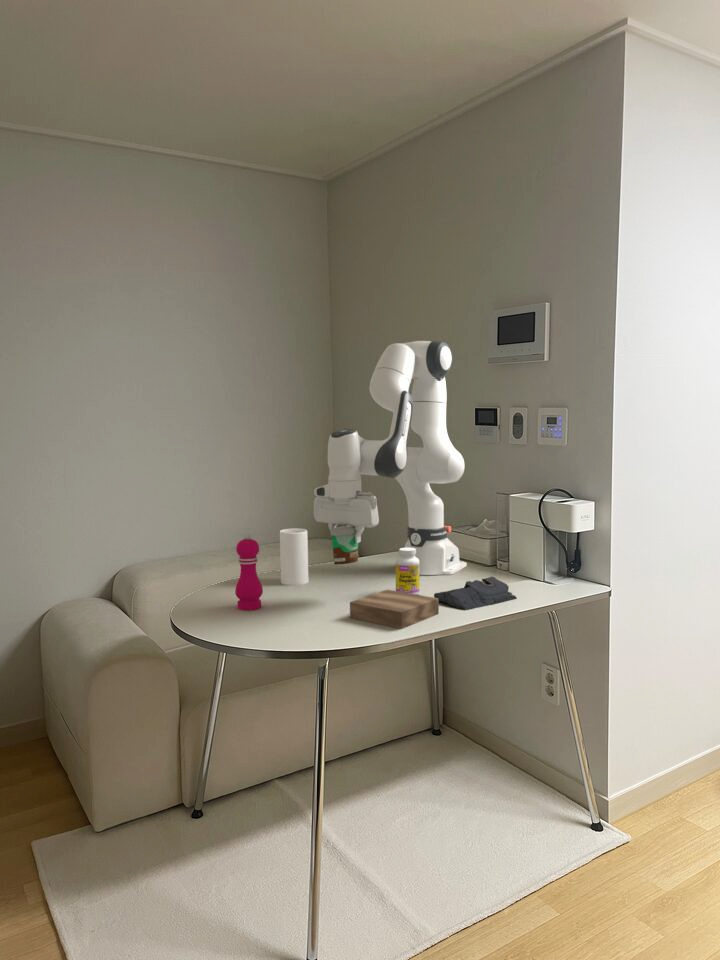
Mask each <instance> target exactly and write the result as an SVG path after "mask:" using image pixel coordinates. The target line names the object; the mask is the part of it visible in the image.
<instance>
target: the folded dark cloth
mask: <svg viewBox="0 0 720 960" xmlns="http://www.w3.org/2000/svg"><path fill="white" fill-rule="evenodd" d="M433 597H434V598H439V602H443V603H445V604H448V605H449V606H451V607H454V608H456V609H459V610H464V611H469V610H475V609H479V608H483V607H488V606H493V605H497V604H498V605H499V604H502V603H506V602H510V601H514V600H517V599H518V598H517V596H516V595H513V592H510V591H509V585H508V584H507V583H506V582H504V581H501V580H499V579H497V577H494V576H489V577H485V578H482V579H481V580H478V579H474V580H473V581H471V580H469V581H466V582H465V584H464V587H460V588H454V589H450V590H447V591H439V592H435V593H434V594H433Z"/></svg>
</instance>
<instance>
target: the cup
mask: <svg viewBox="0 0 720 960" xmlns="http://www.w3.org/2000/svg"><path fill="white" fill-rule="evenodd" d="M308 538H309V537H308V530H307V529H306V528H295V527H294V528H285V529H281V530H280V531H279V552H280V553H279V554H280V557H279V558H280V559H279V561H280V583H281V584H282V585H284V586H285V585H286V586H300V585H301V586H302V585H305V584H308V583H309V546H308V545H309V544H308V543H309V542H308Z"/></svg>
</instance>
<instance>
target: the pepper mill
mask: <svg viewBox="0 0 720 960" xmlns="http://www.w3.org/2000/svg"><path fill="white" fill-rule="evenodd" d="M243 537H244V539H241V540H240V541H238V542H237V545H236V548H235V550H236V554H237V555H238V563H239V565H240V573H239V578H238V581H237V583H236V586H235V593H234V594H235V595H236V597H237V598H238V601H237V609H238V610H241V611H255V610H259V609H261V608H262V599H260V598H261V596H262V595H263V592H264V591H263V584H262V583H261V581H260V578H259V576H258V572H257V564H258V554H259V552H260V546H259V543H258V542H257V541H256V540H255V539H253V538H251V537H252V535H251V534H250V533H247V532H246V533H245V534H244V535H243Z"/></svg>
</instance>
